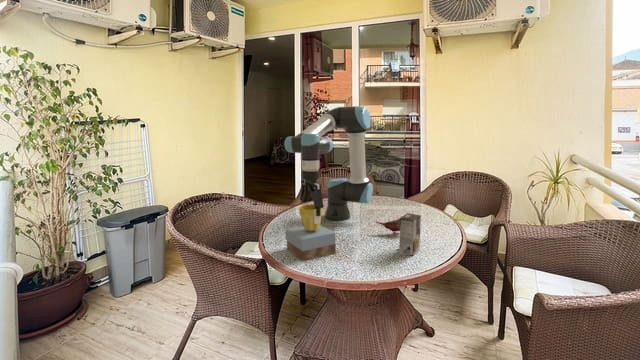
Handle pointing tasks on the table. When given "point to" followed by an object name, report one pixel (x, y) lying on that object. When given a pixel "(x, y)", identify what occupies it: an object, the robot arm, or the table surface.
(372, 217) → the table surface
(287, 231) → the tower top
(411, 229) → the coffee box
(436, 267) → the table surface
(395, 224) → the decorative bird figurine
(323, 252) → the tower base
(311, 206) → the plant pot
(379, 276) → the table surface
